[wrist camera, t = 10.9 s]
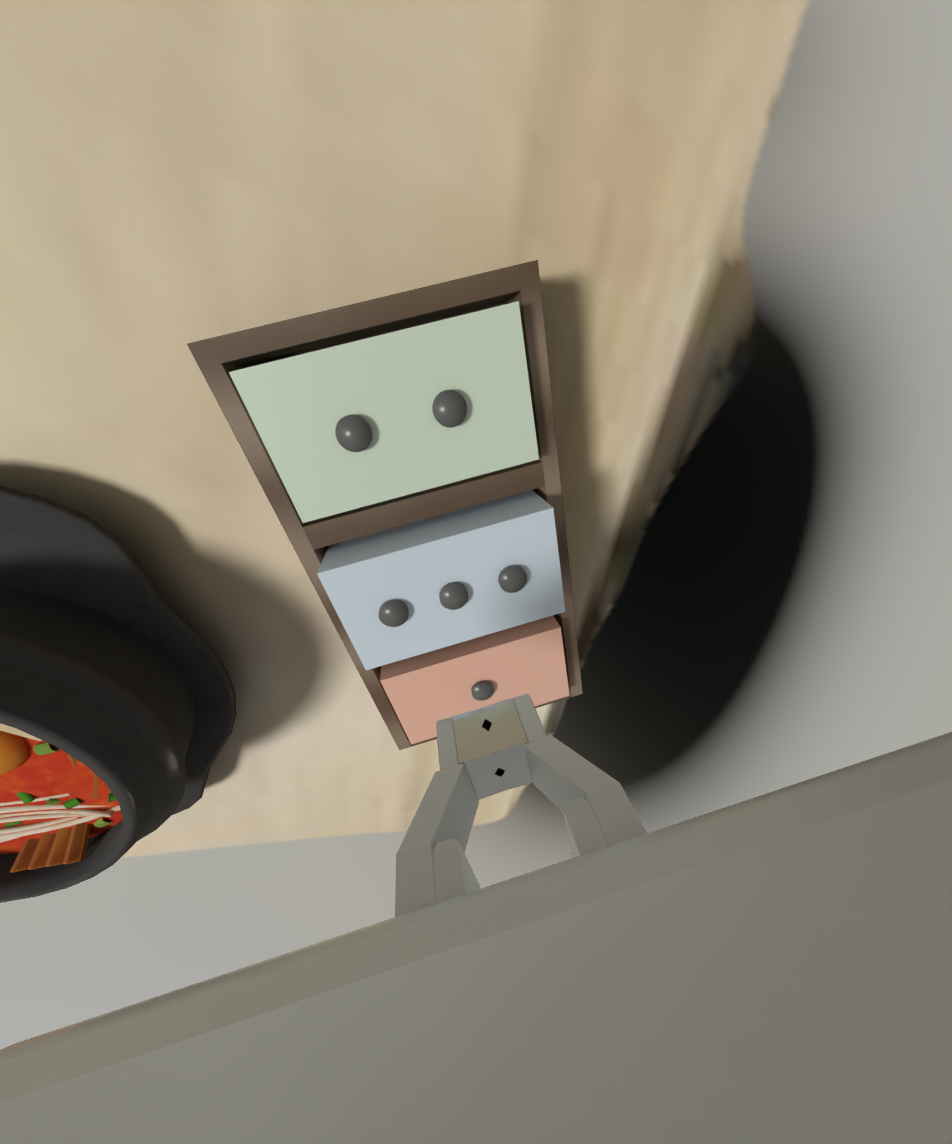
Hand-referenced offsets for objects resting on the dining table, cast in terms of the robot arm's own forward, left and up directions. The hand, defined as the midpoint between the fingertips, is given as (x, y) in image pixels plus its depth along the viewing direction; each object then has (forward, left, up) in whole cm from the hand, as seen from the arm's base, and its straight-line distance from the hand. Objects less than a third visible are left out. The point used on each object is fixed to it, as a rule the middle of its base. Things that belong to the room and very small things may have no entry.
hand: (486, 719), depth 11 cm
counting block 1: (-8, 0, -12) cm, 14 cm away
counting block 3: (+8, 0, -12) cm, 14 cm away
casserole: (+1, -24, -13) cm, 27 cm away
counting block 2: (0, 0, -11) cm, 11 cm away
